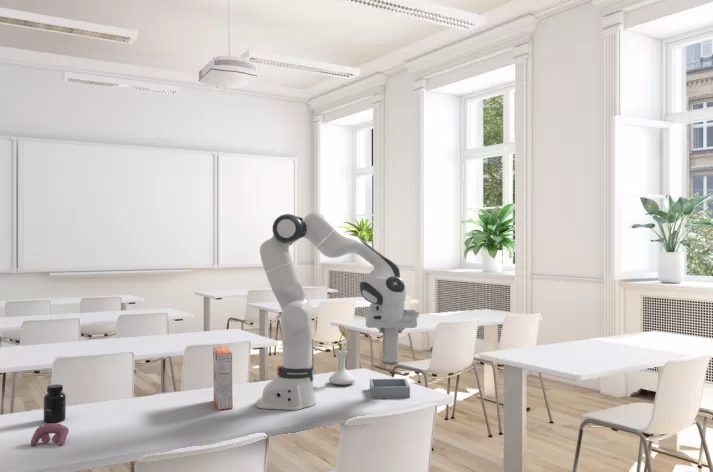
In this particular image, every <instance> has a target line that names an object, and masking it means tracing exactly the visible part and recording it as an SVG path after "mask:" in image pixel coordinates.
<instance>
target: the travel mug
mask: <svg viewBox="0 0 713 472" xmlns="http://www.w3.org/2000/svg"><path fill="white" fill-rule="evenodd" d="M382 364H383V365H387V366H394V365H398V364H399V333H398V328H383V333H382Z"/></svg>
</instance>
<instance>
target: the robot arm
mask: <svg viewBox="0 0 713 472" xmlns="http://www.w3.org/2000/svg"><path fill="white" fill-rule="evenodd" d="M301 238H303V239H306V240H308V242H310V243H311V244H312V245H313V246H314V247H315V248H316V249H317V250H318V251H319V252H320V253H321V254H322V255H323V256H325V257H327V258H333V259H334V258H340V257H342V256H345V255H348V254H357V255H359V256H360V257H361V258H363V259H364V260H365V261H366V262H368V263H369V264H370V265H371V266H372V267H373V269H372V270H371V271H370V272H369V273H368V274H367V275H366V276H365V277H364V279H362V281H361V282H360V283H359V291H360V294H361V296H362V297H363V299H364V300H365V301H367V302H369V303H370V304H369V309H368V310H367V312H366V315H365V327H366V328H368V329H369V328H371V329H372V328H374V329H375V328H376V329H377V330H378V332H379V334H383V328H398V334H403V331H404V330H406V329H415V328H417V326H418V318H419V316H420V312H419V311H417V310H416V309H405V306H406V305H405V302H406V298H407V288H406V284H405V282H404V280H403V279H402V278H401V272H400V268H399V266H398V265H397V263H396V262H395V261H393V260H391V259H390V258H388V257H386V256H384V255H383V254H381V253H380V252H379V251H377V250H376V249H375V248H373V247H372V245H371V246H370V245H369V244H368V243H367V242H366V241H364V240H363V239H361V238H360V237H359V236H357V235H355V234H353V233H352V234H351V233H350V234H348V233H346V232H344V231H342V230H341V229H339V228H338V227H337V226H336V225H335V224H334V223H333V221H331V220H330V219H329V218H328V217H326V216H324V215H323V214H322V213H320V212H318V211H314V212H310V213H309V214H307V215H306V216H304V217H300V216H297V215H293V214H290V213H287V214H286V213H285V214H282V215H279V216H278V217H277V218H276V219H275V220H274V221H273V223H272V236H271V238H269V239H266V240H265V241H263V242H262V243H261V245H260V247H259V253H260V254H259V255H260V259H261V263H262V267H263V269H264V272H265V275H266V277H267V280H268V283H269V286H270V287H271V291H272V292H273V295H274V296H275V298H276V300H277V302H278V304H279V306H280V309H281V314H280V315H281V316H280V322H281V323H280V324H281V325H280V326H281V338H282V339H281V341H282V365H281V364H279V365H278V366H277V367H276V371H277V376H275V378H273V379H272V380H271V381H270V382H268V383H267V384H266V385H265V387H264V388H263V390H262V394H261V397H259V398H258V399H257V400H256V403H255V406H256V408H258V409H266V410H267V409H269V410H288V411H289V410H290V411H291V410H292V411H298V410H301V409H304V408H309V407H313V406H315V405H316V404H317V399H316V396H315V389H314V384H313V380H314V375H315V374H314V373H315V371H314V365H313V343H312V342H313V341H312V340H313V339H312V320H313V314H314V311H313V307H312V304H311V302H310V299H309V297H308V295H307V293H306V291H305V288H304V286H303V284H302V282H301V280H300V277H299V275H298V272H297V269H296V267H295V264H294V262H293V259H292V256H291V253H290V246H291V245H293V244H294V243H296V242H297V241H298V240H300V239H301Z"/></svg>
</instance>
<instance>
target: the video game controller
mask: <svg viewBox="0 0 713 472" xmlns="http://www.w3.org/2000/svg"><path fill="white" fill-rule="evenodd" d="M38 426H39V427H37V428H36V430H35V431H34V434H33V436H32V437H31V439H30V446H31V447H34V446H36V445H37V444H38V442H39V441H40V439H41V442H42V443H44V444H48V443H49V442H50V441H52V442H53V443H54V444H58V446H60V447H61V445H62V446H63V445H64V444H65V442H66V441H67V436H68V434H69V431H70V430H69V428H68V427H67V426H66V425H64V424H61V423H45V424H40V425H38ZM51 434H54V435H53V436H52V438H51Z"/></svg>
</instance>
